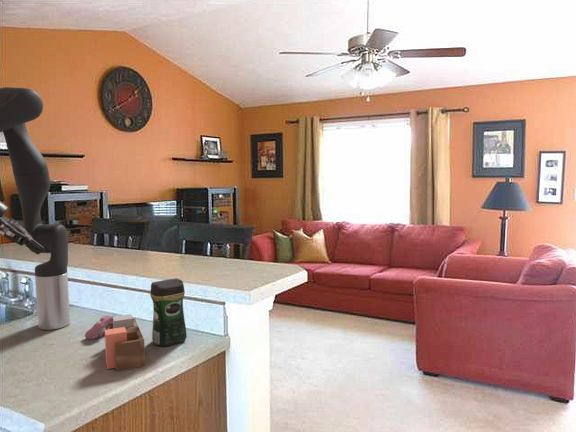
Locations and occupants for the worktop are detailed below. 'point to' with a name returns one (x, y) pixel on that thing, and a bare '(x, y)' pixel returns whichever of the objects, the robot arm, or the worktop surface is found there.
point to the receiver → (130, 349)
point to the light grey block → (123, 321)
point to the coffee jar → (168, 312)
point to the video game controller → (99, 327)
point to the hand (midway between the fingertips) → (41, 251)
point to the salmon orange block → (113, 344)
